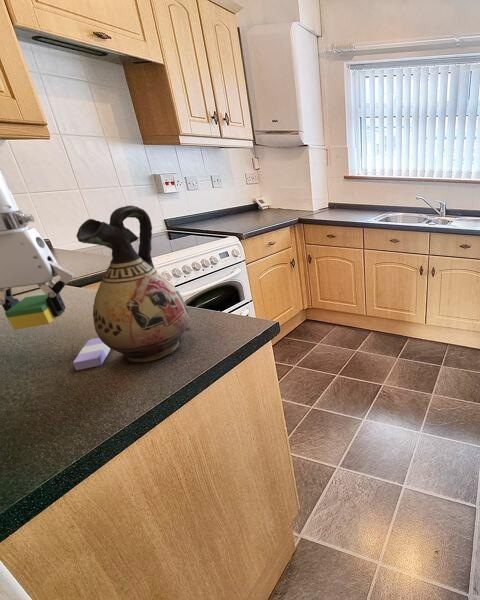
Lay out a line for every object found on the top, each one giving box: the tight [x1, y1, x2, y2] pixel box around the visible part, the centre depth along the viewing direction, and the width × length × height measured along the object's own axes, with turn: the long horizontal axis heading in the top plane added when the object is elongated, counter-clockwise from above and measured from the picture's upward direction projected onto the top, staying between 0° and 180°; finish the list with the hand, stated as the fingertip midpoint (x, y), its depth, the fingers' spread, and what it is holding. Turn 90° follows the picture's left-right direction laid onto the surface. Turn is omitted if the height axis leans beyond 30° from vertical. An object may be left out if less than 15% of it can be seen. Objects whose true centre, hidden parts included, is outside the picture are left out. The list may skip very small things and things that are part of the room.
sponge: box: [4, 293, 57, 330], centre depth 65 cm, size 8×5×4 cm, turn 26°
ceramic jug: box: [76, 205, 190, 363], centre depth 67 cm, size 17×15×30 cm
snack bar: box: [72, 337, 112, 371], centre depth 70 cm, size 10×4×2 cm, turn 26°
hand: (40, 316), depth 66 cm, fingers closed on sponge, 5 cm apart
